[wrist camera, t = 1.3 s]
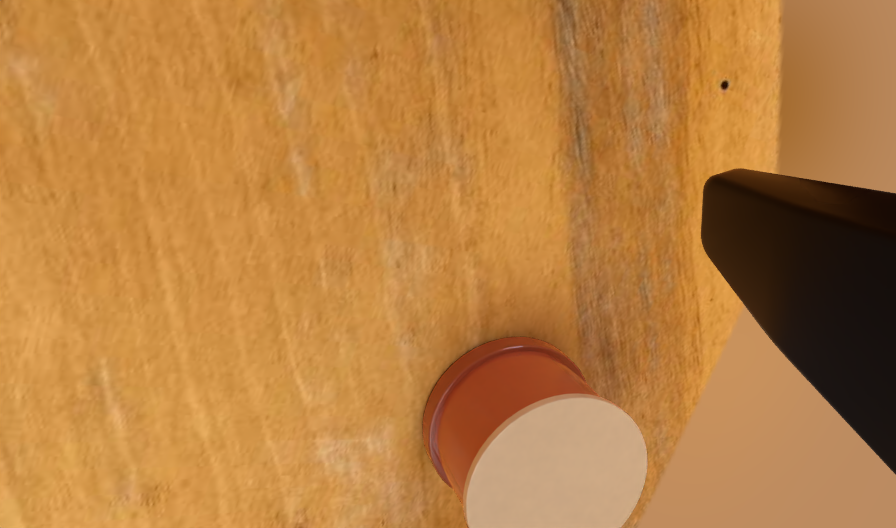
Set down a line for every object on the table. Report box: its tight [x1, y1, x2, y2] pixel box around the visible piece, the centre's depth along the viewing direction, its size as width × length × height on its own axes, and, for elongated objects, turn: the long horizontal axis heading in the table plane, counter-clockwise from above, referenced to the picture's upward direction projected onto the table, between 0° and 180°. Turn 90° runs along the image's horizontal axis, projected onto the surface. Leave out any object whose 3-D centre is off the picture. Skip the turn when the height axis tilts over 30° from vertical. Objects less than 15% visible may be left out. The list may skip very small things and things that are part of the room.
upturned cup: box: [423, 337, 647, 528], centre depth 27 cm, size 6×6×4 cm
